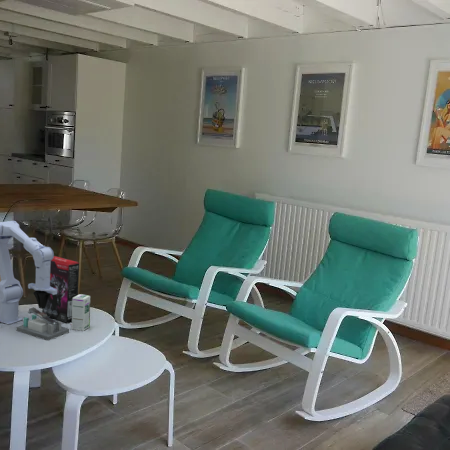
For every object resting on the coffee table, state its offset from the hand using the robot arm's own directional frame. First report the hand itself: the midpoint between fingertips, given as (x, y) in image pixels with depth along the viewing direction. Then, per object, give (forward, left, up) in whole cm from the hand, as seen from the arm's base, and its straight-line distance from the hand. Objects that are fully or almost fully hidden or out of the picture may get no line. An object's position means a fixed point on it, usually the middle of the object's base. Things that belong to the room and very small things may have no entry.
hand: (42, 307), depth 220 cm
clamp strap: (0, 0, -5) cm, 5 cm away
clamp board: (0, 0, -10) cm, 10 cm away
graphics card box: (-7, +17, -11) cm, 21 cm away
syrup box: (+10, +13, -11) cm, 19 cm away
